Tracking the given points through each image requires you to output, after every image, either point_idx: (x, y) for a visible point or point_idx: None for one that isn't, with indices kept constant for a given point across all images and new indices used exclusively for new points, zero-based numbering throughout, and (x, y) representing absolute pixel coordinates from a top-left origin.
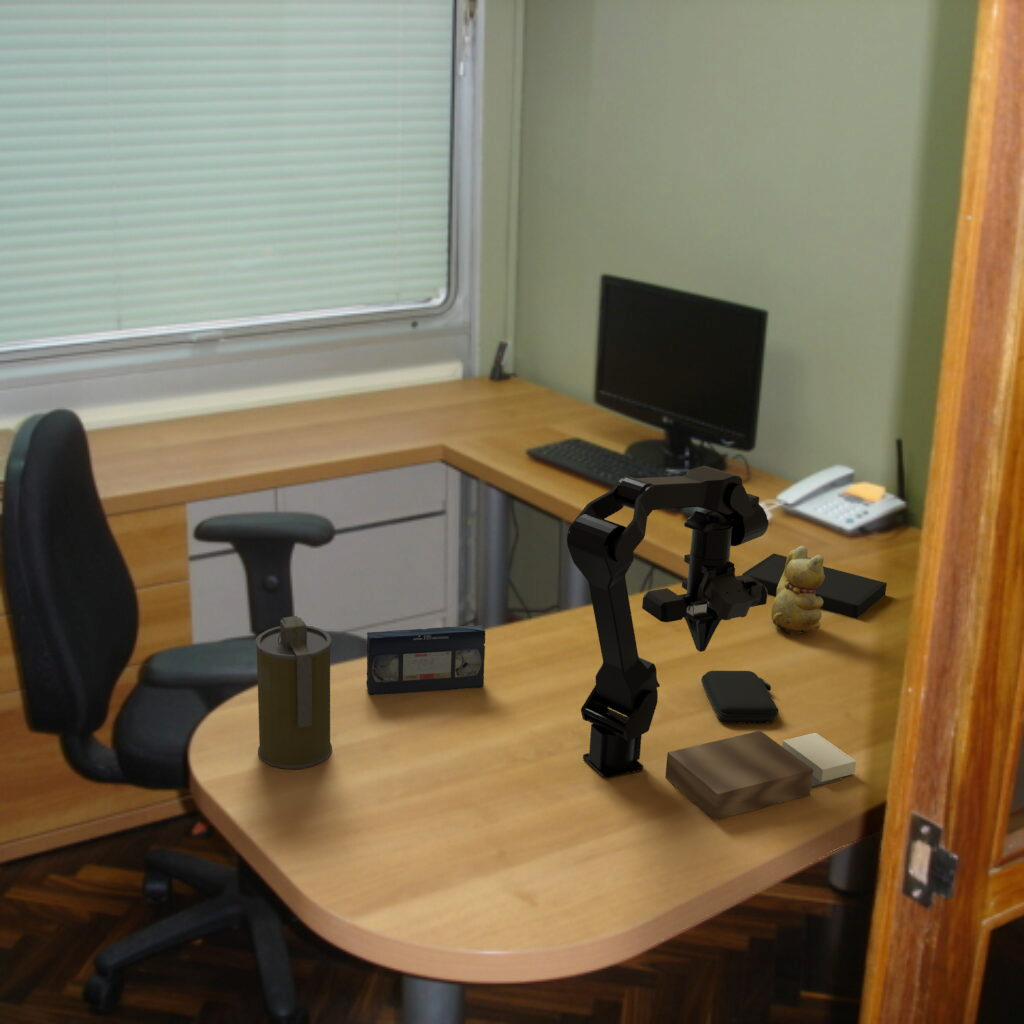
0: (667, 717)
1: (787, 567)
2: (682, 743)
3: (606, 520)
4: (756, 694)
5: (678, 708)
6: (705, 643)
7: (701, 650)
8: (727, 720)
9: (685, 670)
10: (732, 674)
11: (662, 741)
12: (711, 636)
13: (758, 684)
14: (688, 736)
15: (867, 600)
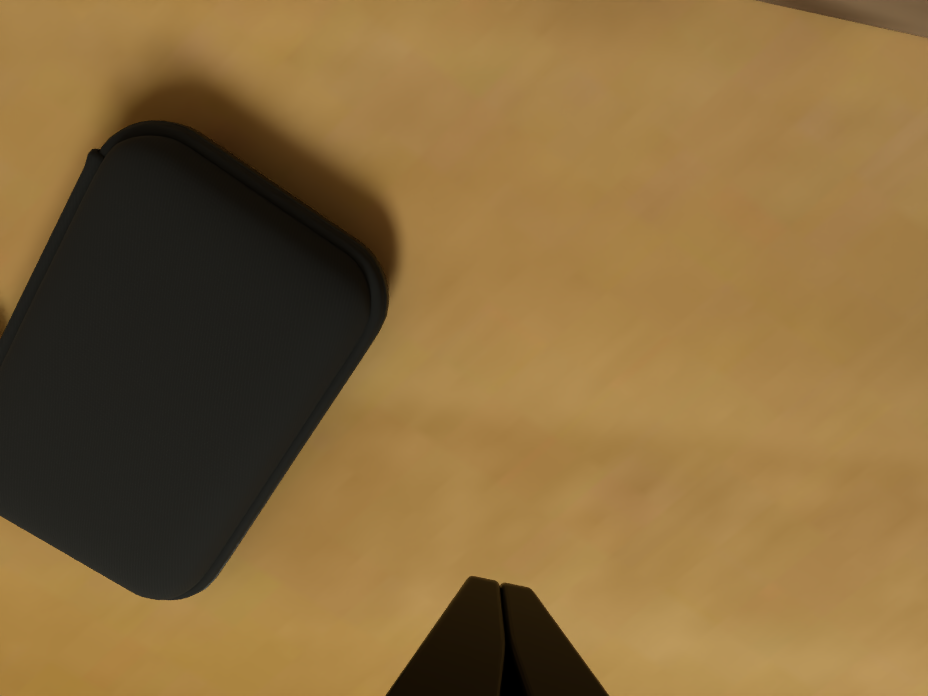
0: (551, 459)
1: None
2: (685, 255)
3: None
4: (108, 296)
5: (450, 486)
6: (490, 639)
7: (525, 591)
8: (375, 257)
9: (187, 681)
10: (77, 511)
11: (743, 322)
12: (405, 692)
13: (23, 369)
14: (610, 285)
15: None
